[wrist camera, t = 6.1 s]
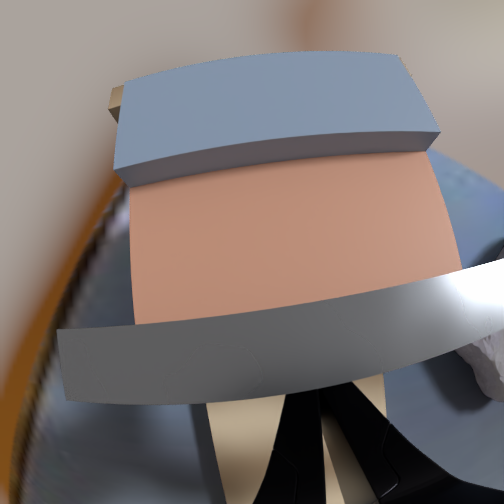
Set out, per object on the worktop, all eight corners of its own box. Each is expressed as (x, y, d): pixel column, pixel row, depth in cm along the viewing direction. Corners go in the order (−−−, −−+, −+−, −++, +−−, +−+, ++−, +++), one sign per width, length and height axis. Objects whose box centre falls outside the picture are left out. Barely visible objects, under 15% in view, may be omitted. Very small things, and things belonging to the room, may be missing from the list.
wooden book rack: (381, 498, 14) (450, 592, 3) (236, 524, 14) (212, 640, 3) (340, 186, 19) (400, 57, 8) (187, 208, 19) (112, 88, 8)
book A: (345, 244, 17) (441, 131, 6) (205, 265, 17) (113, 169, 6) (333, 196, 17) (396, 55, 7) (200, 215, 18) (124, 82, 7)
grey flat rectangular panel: (369, 323, 15) (545, 306, 4) (205, 350, 15) (66, 400, 4) (366, 302, 16) (534, 249, 4) (202, 328, 16) (56, 328, 4)
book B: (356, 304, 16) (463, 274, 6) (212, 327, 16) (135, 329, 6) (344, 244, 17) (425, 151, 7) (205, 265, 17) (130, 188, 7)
